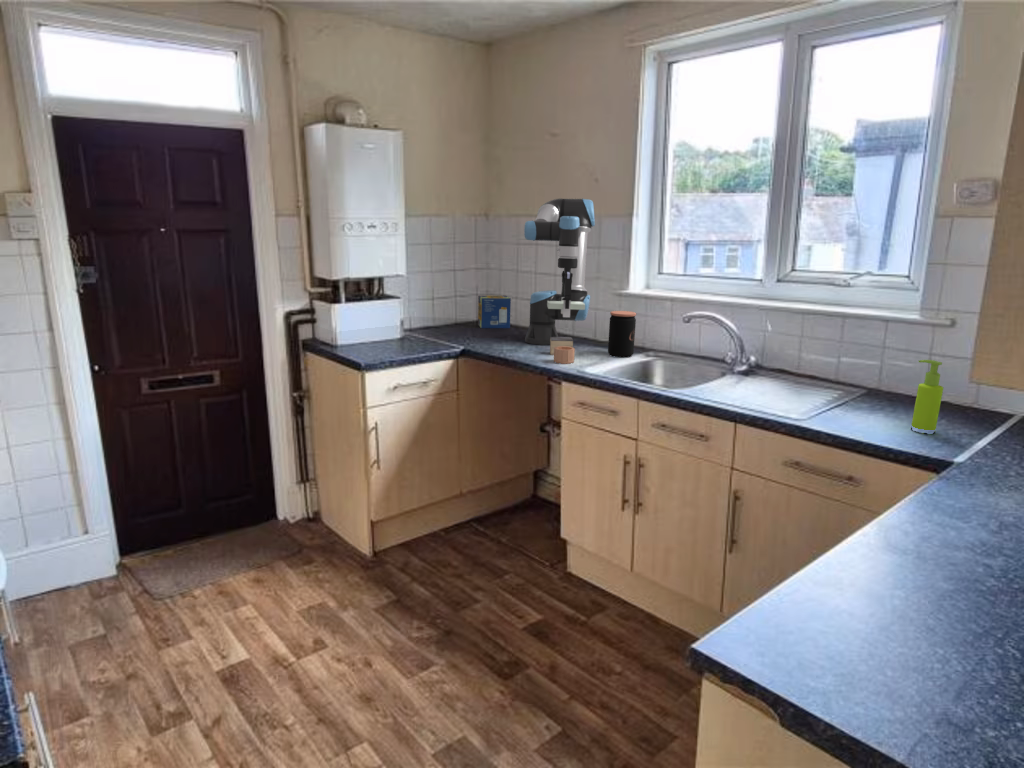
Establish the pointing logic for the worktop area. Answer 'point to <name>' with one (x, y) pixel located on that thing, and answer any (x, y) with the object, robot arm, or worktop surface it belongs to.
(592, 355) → the worktop surface
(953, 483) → the worktop surface
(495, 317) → the protein box
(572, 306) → the lid
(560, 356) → the terracotta faceted pot
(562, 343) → the riser
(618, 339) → the coffee jar
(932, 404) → the soap dispenser
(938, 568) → the worktop surface
